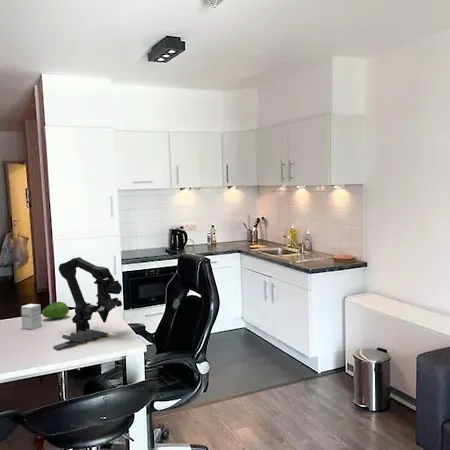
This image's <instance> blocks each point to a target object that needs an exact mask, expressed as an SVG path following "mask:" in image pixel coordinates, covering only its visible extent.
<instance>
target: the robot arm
mask: <svg viewBox="0 0 450 450" xmlns="http://www.w3.org/2000/svg"><path fill="white" fill-rule="evenodd" d="M77 268H79V269H81V270H82V271H85V272H86V273H88V274H91V276H92V277H93V279H95V280H94V282H93V284H94V285H96V288H97V291H96V293H97V294H96V295H95V296H96V298H97V301H96V305H95V304H91V303H90V302H86V301H85V298H84V296H83V293H82V290H81V287H80V284H79V282H78V280H77V277H76V275H77ZM58 271H59V274H60V276H61V277H62V278H63V279H65V280H66V283H67V285H68V288H69V291H70V293H71V295H72V298H73V299H72V300H73V301H74V305H75V307H74V313H75V314H74V316H73V317H72V319H71V320H72V323H73V324H75V333H76V334H78V331H84V332H86V329H90V322H89V321H91V320H92V316H93V314H94V313H98V315H99V317H100V319H101V321H102V322H103V323H106V322H107V319H108V317H109V313H111V311H112V310H113V309H116V307H118V308H119V307H122V306H123V303H122V300H121V299H119V298H118V297H114V298H112V296H111V295H119V294H121V292H122V290H123V287H122V284H121V283H120V281H119V280H115V278H114V275H113V274H112V273H111V271H110V269H109V268H108V267H105V266H99V265H95V264H93V263H91V262H89V261H88V260H85V259H83V258H82V257H80V256H78V257H73V258H71V259H70V260H68V261H66V262H63V263H60V264H59V265H58Z"/></svg>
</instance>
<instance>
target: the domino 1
mask: <svg viewBox="0 0 450 450" xmlns="http://www.w3.org/2000/svg"><path fill="white" fill-rule="evenodd" d="M76 345H78V342H77V341H71V340H66V341H64V342H61V343H59V344H56V345H54V346H53V347H52V349H54V350H56V351H62V350H66V349H69V348H73V347H76Z"/></svg>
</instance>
